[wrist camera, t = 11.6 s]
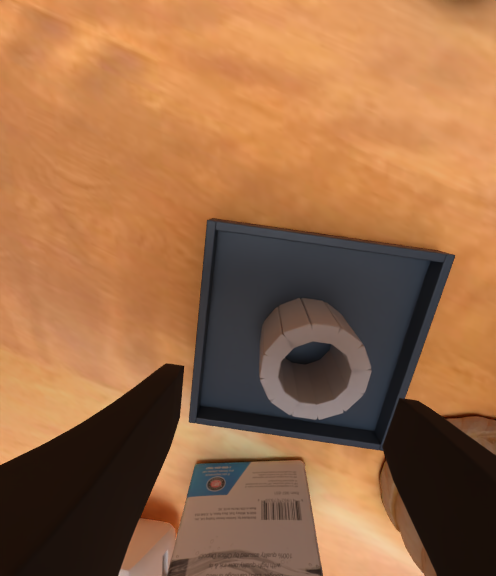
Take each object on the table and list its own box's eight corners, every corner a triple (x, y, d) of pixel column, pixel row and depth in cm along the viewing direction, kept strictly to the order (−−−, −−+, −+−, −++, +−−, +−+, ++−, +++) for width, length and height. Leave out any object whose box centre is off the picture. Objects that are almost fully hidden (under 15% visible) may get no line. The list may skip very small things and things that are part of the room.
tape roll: (255, 369, 19) (253, 411, 15) (267, 292, 18) (269, 316, 14) (336, 381, 19) (355, 426, 15) (357, 305, 18) (383, 333, 14)
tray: (193, 406, 21) (188, 422, 19) (211, 218, 17) (207, 219, 15) (377, 433, 21) (386, 451, 19) (438, 250, 17) (456, 255, 15)
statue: (376, 668, 11) (829, 825, 7) (364, 404, 23) (523, 403, 19) (420, 804, 14) (744, 965, 10) (389, 509, 26) (529, 528, 22)
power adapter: (7, 536, 21) (76, 498, 27) (-3, 617, 20) (71, 560, 26) (130, 562, 18) (180, 512, 23) (126, 660, 17) (179, 584, 22)
